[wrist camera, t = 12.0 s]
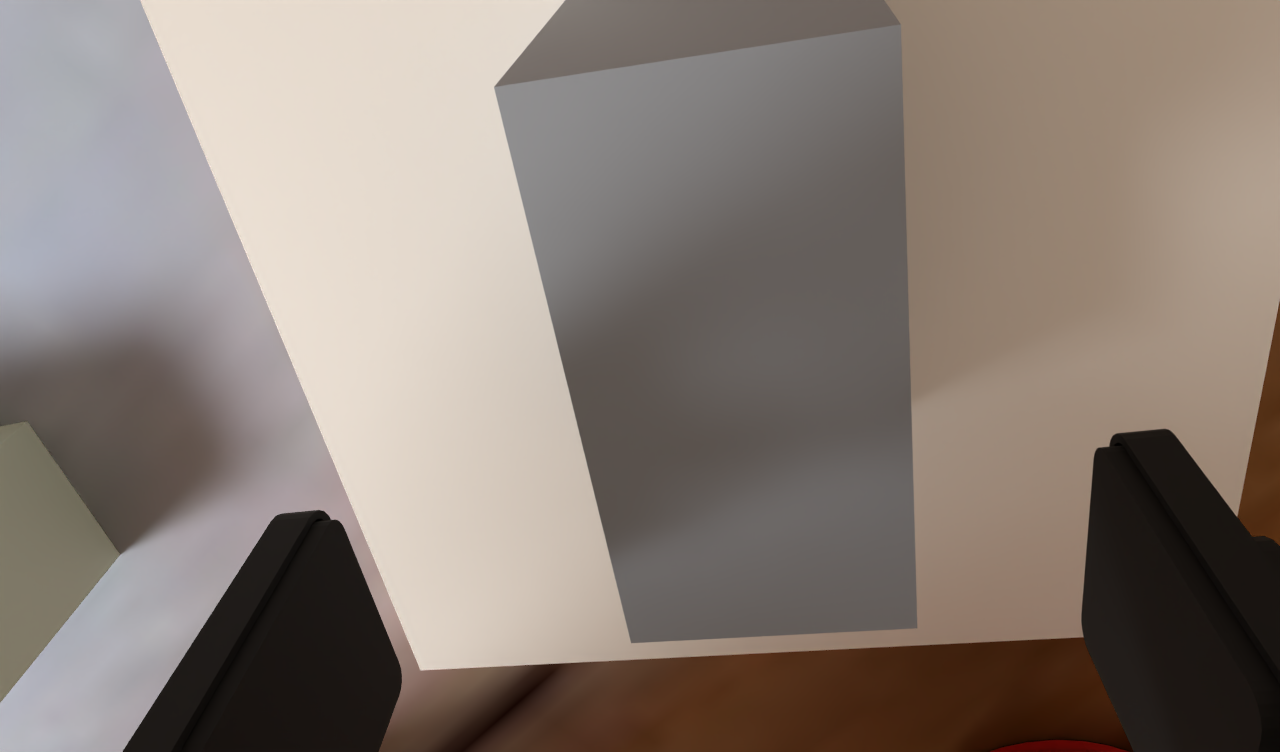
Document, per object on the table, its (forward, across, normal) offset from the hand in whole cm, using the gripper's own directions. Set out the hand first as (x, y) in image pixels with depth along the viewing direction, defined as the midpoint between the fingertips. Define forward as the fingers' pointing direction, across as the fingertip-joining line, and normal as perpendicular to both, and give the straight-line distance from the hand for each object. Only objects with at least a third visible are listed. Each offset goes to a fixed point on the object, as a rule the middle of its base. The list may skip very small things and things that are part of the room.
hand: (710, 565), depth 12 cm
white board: (+7, -1, -1) cm, 7 cm away
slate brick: (+6, -1, -2) cm, 6 cm away
